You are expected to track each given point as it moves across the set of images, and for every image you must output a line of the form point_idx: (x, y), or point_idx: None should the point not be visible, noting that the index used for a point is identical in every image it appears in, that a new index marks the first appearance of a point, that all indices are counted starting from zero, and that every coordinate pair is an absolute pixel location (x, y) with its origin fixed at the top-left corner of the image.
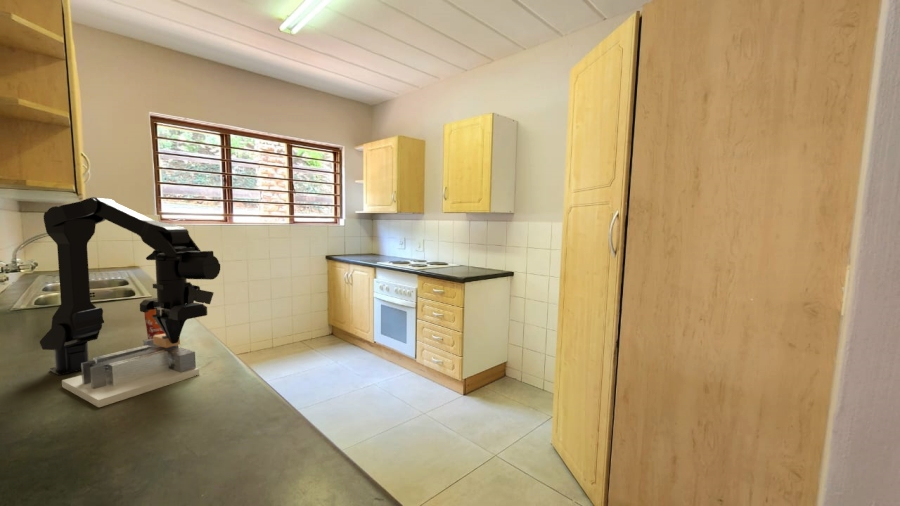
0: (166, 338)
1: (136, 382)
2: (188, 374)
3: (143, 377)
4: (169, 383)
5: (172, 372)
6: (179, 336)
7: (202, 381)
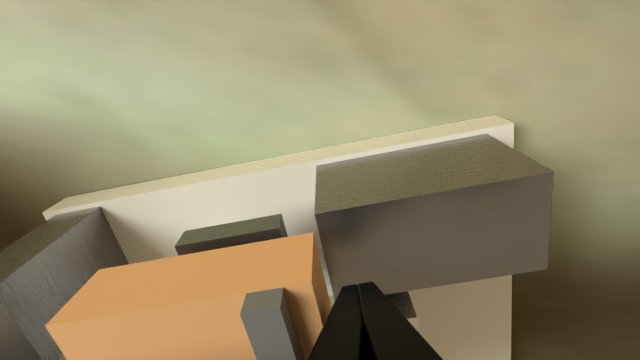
0: None
1: (439, 346)
2: None
3: None
4: None
5: None
6: (402, 315)
7: (606, 131)
